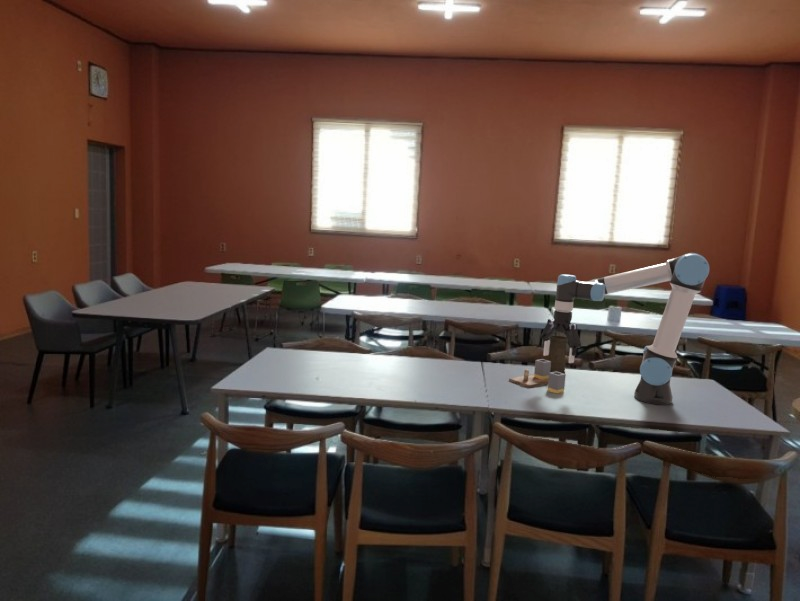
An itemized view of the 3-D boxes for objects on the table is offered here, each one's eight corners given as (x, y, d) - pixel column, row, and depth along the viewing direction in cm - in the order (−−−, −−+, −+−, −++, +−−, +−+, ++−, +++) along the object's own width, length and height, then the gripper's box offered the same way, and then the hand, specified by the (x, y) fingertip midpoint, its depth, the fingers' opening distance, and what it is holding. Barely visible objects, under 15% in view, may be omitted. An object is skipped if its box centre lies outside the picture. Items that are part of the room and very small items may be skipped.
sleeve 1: (549, 378, 277) (551, 361, 275) (542, 379, 274) (544, 362, 272) (541, 375, 280) (542, 359, 279) (534, 376, 278) (535, 360, 276)
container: (560, 376, 285) (564, 340, 282) (543, 373, 290) (546, 336, 288) (568, 373, 292) (571, 337, 289) (550, 369, 297) (554, 334, 295)
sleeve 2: (563, 392, 260) (565, 374, 259) (556, 393, 257) (558, 375, 256) (554, 388, 264) (556, 371, 263) (547, 390, 261) (549, 372, 260)
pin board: (558, 382, 275) (559, 369, 274) (529, 387, 263) (530, 374, 262) (537, 375, 285) (539, 363, 284) (508, 380, 273) (510, 367, 272)
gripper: (593, 315, 248) (587, 365, 251) (546, 305, 267) (541, 351, 270) (582, 316, 243) (576, 366, 246) (535, 306, 263) (530, 353, 266)
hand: (558, 359), depth 258 cm, fingers open, 13 cm apart
